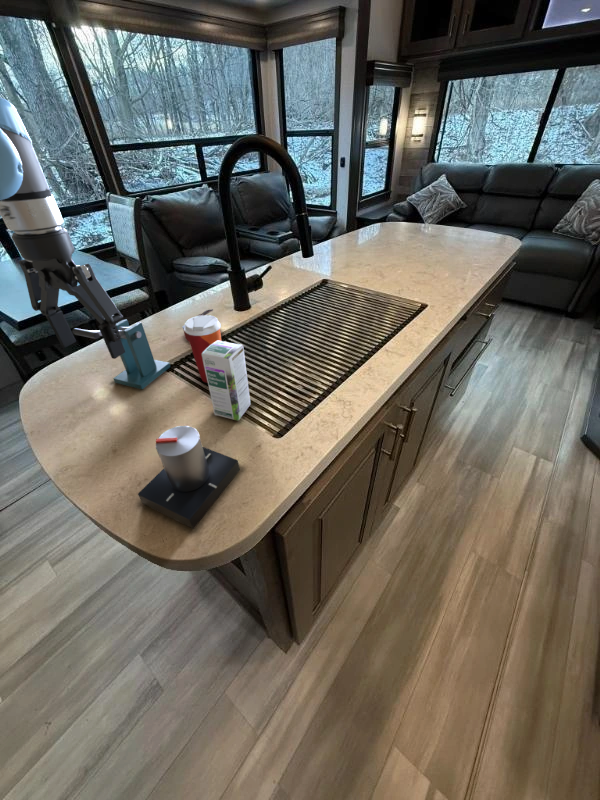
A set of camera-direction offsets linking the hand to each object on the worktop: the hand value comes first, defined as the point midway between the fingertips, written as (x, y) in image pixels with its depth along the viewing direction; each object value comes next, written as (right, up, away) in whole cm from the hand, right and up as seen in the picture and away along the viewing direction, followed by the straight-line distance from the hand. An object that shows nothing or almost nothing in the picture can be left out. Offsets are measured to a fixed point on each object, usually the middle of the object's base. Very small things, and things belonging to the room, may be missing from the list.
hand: (93, 349), depth 65 cm
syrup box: (+27, -12, +3) cm, 30 cm away
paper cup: (+20, -4, +13) cm, 25 cm away
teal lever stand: (+3, -4, +14) cm, 15 cm away
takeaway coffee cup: (+13, +8, +29) cm, 33 cm away
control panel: (+24, -24, -12) cm, 36 cm away
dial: (+24, -22, -13) cm, 35 cm away
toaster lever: (+2, +3, +3) cm, 4 cm away
